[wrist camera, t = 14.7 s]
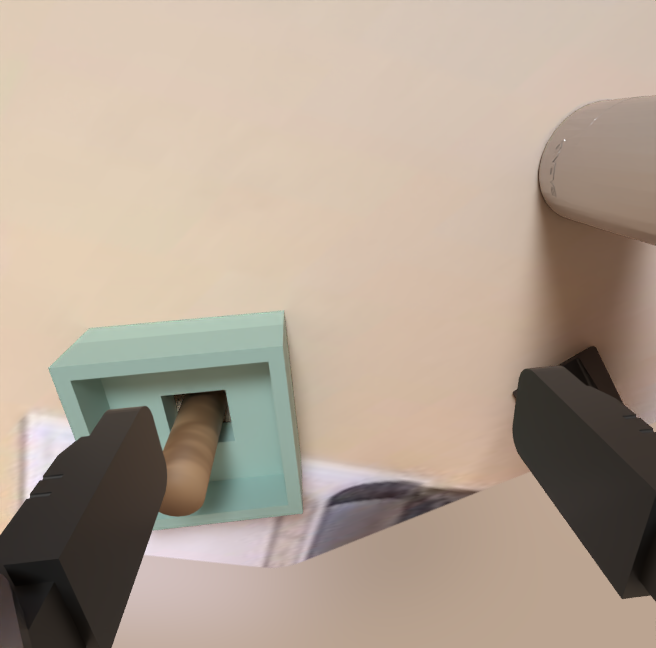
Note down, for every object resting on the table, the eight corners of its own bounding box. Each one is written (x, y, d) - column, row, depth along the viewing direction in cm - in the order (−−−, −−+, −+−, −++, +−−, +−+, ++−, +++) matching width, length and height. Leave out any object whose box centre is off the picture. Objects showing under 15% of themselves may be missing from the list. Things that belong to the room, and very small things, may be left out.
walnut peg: (223, 380, 41) (199, 471, 30) (230, 415, 42) (209, 513, 31) (180, 384, 41) (140, 477, 30) (189, 419, 42) (154, 519, 31)
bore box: (283, 310, 38) (282, 346, 32) (301, 460, 45) (302, 513, 39) (89, 328, 38) (48, 368, 31) (137, 477, 45) (111, 535, 38)
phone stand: (533, 429, 46) (609, 521, 35) (511, 391, 44) (584, 477, 33) (612, 386, 45) (716, 468, 34) (593, 345, 43) (698, 418, 32)
